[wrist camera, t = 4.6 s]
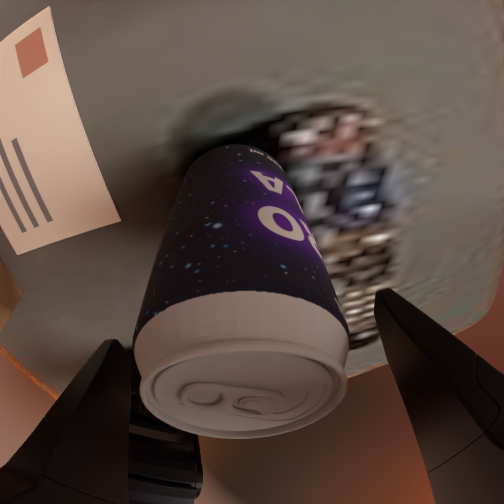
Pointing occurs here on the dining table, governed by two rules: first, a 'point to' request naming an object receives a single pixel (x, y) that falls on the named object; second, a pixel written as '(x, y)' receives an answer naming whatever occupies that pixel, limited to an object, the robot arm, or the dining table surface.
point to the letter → (44, 145)
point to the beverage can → (239, 307)
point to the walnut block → (7, 294)
